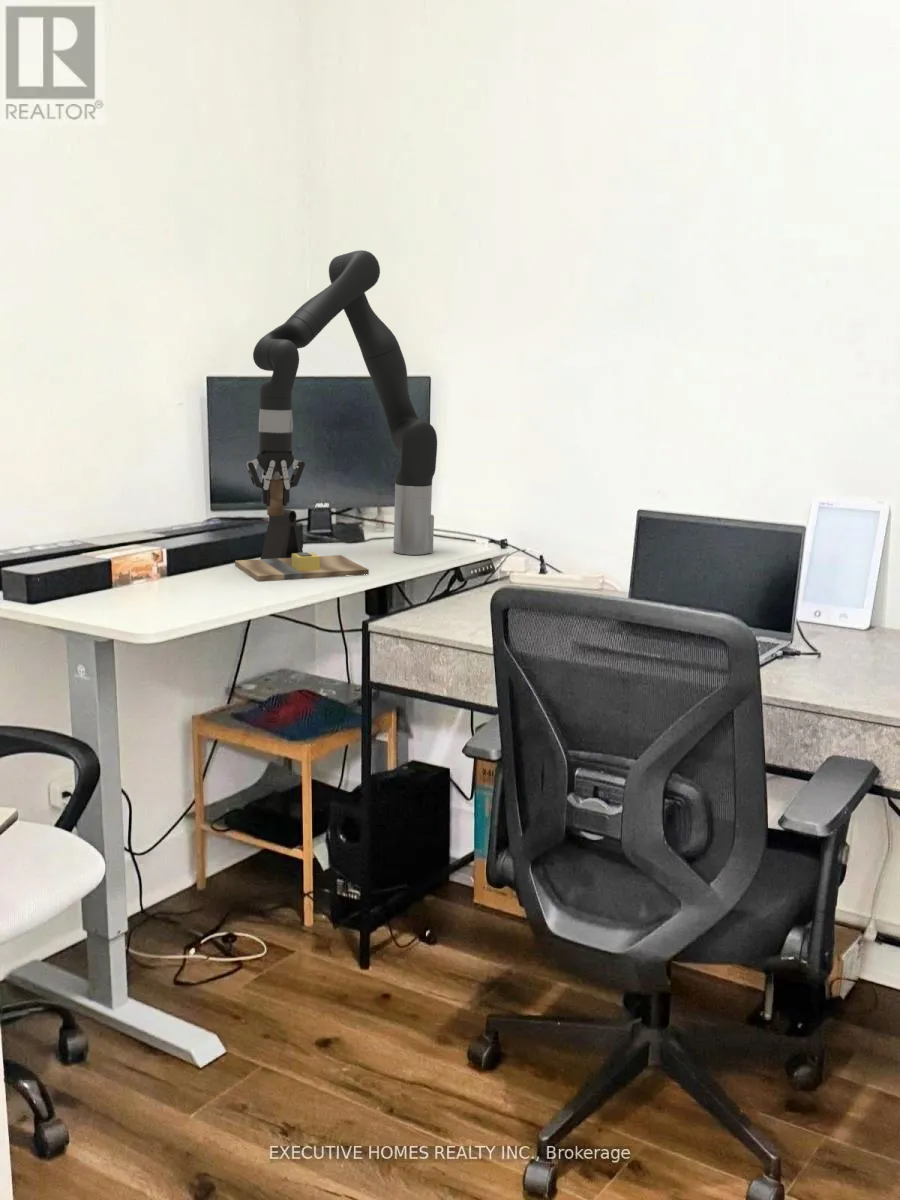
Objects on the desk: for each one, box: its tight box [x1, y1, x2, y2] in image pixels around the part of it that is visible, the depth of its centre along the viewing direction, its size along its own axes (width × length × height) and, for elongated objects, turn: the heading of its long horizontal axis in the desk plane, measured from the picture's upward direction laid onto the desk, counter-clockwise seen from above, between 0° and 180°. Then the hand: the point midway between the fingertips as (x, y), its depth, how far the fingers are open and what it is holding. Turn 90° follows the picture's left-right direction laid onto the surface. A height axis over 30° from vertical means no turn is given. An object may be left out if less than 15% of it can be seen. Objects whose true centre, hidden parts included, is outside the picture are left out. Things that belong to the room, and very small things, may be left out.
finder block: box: [292, 551, 321, 571], centre depth 264 cm, size 5×5×3 cm
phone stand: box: [260, 508, 304, 559], centre depth 279 cm, size 9×6×12 cm, turn 148°
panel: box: [234, 554, 370, 582], centre depth 268 cm, size 26×18×1 cm
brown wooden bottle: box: [266, 472, 284, 516], centre depth 266 cm, size 4×4×10 cm
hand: (275, 505), depth 266 cm, fingers closed on brown wooden bottle, 3 cm apart
